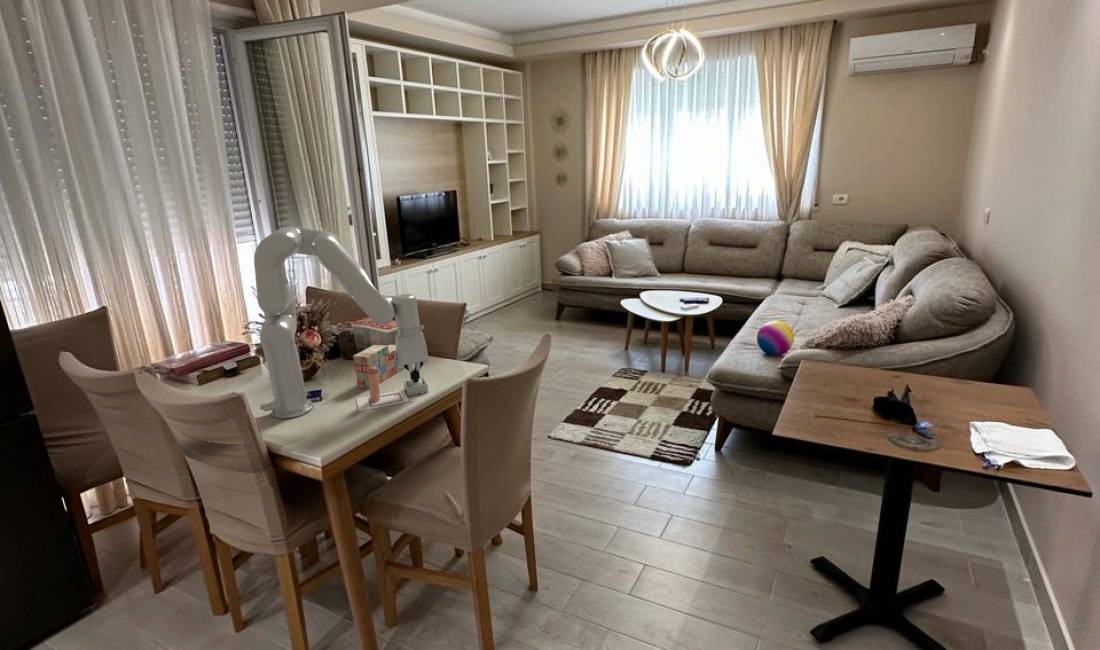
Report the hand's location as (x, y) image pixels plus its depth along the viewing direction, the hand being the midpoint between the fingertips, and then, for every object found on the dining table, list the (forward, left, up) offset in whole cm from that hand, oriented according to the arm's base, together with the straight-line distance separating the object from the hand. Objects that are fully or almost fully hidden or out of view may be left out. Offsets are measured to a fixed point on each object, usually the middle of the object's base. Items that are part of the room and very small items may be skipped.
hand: (415, 381), depth 200 cm
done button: (0, 0, -3) cm, 3 cm away
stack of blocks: (-9, +20, -4) cm, 22 cm away
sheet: (-12, -3, -4) cm, 13 cm away
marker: (-14, -2, -3) cm, 15 cm away
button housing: (0, 0, -4) cm, 4 cm away
